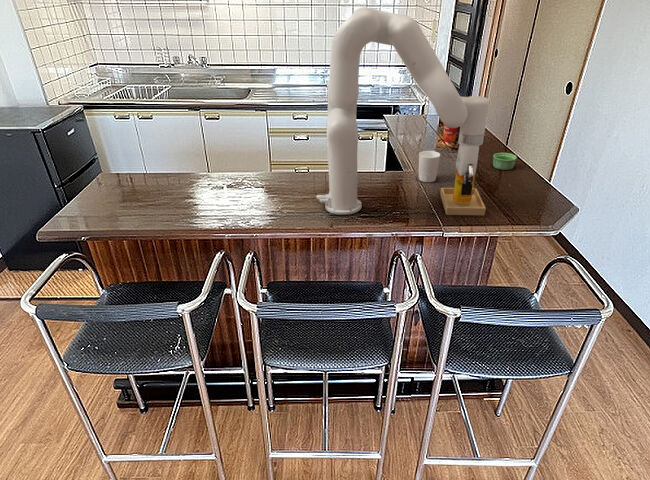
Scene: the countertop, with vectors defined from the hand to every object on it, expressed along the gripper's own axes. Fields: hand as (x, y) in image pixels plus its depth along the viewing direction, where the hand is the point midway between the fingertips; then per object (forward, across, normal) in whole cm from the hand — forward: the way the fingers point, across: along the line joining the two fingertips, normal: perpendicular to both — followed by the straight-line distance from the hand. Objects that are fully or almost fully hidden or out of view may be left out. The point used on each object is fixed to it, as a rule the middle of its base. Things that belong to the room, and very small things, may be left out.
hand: (463, 188), depth 147 cm
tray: (+6, 0, 0) cm, 6 cm away
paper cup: (+6, -72, +6) cm, 72 cm away
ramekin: (+6, -36, +23) cm, 43 cm away
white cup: (+6, -22, -9) cm, 25 cm away
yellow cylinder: (+5, 0, 0) cm, 5 cm away
